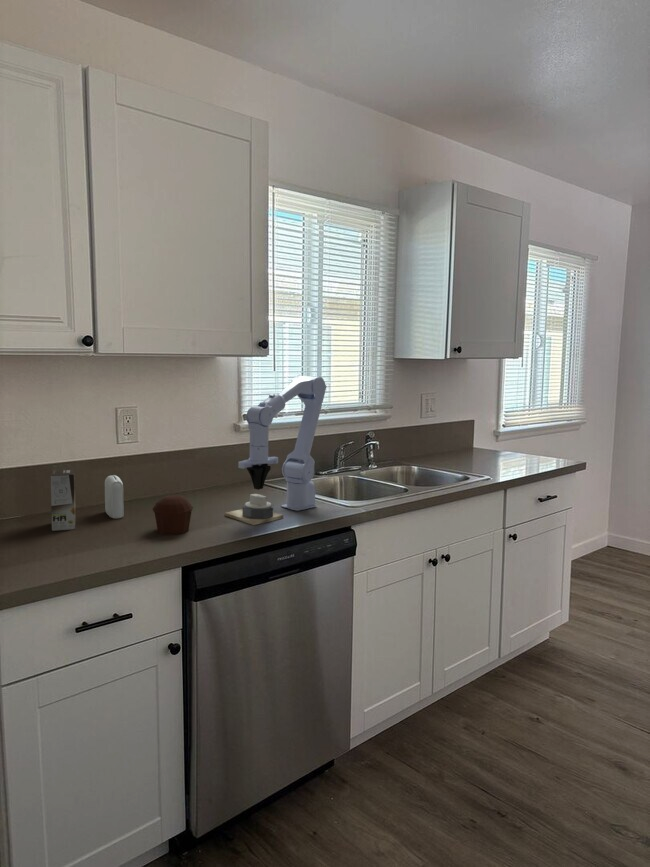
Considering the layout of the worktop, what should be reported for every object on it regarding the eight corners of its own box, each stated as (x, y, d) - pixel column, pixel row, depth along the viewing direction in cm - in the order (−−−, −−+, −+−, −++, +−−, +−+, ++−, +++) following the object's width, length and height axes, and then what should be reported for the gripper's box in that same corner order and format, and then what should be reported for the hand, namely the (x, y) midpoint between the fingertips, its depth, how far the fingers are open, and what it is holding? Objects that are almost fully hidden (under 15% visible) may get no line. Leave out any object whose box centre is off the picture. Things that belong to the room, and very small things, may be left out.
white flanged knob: (259, 506, 210) (259, 491, 210) (276, 511, 205) (276, 496, 204) (239, 511, 205) (239, 495, 204) (256, 516, 199) (256, 499, 198)
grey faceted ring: (259, 509, 211) (259, 500, 211) (279, 515, 205) (279, 506, 205) (236, 514, 205) (237, 505, 204) (256, 520, 198) (256, 511, 198)
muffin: (187, 536, 184) (187, 501, 182) (148, 535, 184) (147, 500, 182) (196, 525, 195) (196, 492, 194) (159, 524, 196) (159, 491, 194)
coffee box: (75, 529, 188) (74, 474, 185) (51, 531, 185) (49, 475, 183) (75, 521, 196) (74, 468, 194) (52, 522, 194) (50, 469, 192)
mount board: (253, 509, 215) (253, 506, 215) (283, 518, 206) (283, 515, 206) (224, 515, 207) (224, 512, 207) (253, 525, 197) (253, 521, 197)
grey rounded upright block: (103, 511, 208) (103, 473, 206) (117, 510, 210) (117, 472, 208) (110, 519, 199) (109, 479, 197) (125, 518, 201) (124, 478, 199)
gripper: (268, 441, 210) (267, 483, 212) (232, 445, 199) (231, 489, 201) (283, 444, 205) (282, 487, 207) (247, 448, 195) (246, 493, 196)
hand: (258, 488), depth 204 cm, fingers closed
